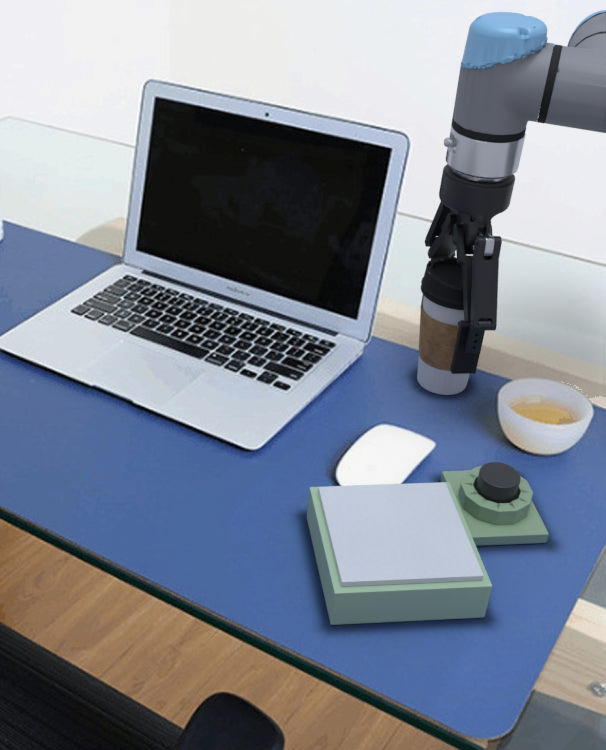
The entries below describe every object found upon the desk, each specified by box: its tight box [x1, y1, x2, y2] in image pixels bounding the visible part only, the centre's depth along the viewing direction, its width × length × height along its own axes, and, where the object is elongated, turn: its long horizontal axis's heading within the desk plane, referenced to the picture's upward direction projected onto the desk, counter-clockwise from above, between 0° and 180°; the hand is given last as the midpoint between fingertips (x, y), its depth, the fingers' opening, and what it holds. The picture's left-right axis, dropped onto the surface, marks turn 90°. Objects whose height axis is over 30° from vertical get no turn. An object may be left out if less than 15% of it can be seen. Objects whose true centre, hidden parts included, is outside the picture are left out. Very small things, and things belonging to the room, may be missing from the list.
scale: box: [306, 481, 493, 626], centre depth 93 cm, size 14×14×5 cm
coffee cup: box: [416, 256, 471, 396], centre depth 116 cm, size 8×8×15 cm
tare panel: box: [440, 465, 550, 547], centre depth 101 cm, size 8×10×3 cm
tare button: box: [476, 461, 521, 503], centre depth 100 cm, size 4×4×2 cm
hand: (446, 339), depth 117 cm, fingers open, 13 cm apart
